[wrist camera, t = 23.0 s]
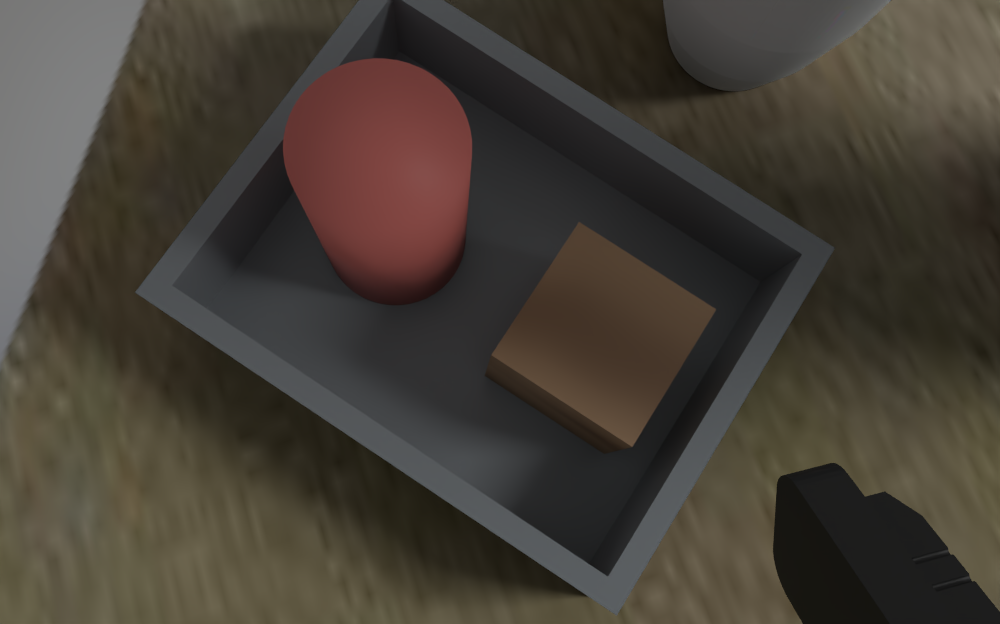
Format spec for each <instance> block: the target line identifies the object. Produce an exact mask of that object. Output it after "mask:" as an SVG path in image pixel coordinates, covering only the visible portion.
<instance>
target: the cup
mask: <svg viewBox="0 0 1000 624" xmlns="http://www.w3.org/2000/svg"><path fill="white" fill-rule="evenodd" d="M890 1H891V0H663V5H664V12H665V20H666V27H667V34H668V40H669V44H670V47H671V50H672V52H673V54H674V56H675V58H676V60H677V61H678V63H679V64H680V65H681V66H682V68H683V69H684V70H685V71H686V72H687V73H688V74H689V75H691V76H692V77H693V78H694V79H696V80H697V81H699V82H701V83H703V84H705V85H707V86H709V87H712V88H715V89H719V90H724V91H744V90H749V89H753V88H756V87H759V86H762V85H764V84H767V83H770V82H773V81H776V80H778V79H781V78H784V77H787V76H789V75H792V74H794V73H796V72H798V71H799V70H801V69H803V68H804V67H806V66H807V65H809V64H810V63H812V62H813V61H815V60H816V59H817V58H819V57H820V56H822V55H823V54H825V53H826V52H828V51H829V50H831V49H832V48H834V47H835V46H837V45H838V44H840V43H841V42H843V41H844V40H846V39H847V38H849V37H850V36H851V35H853V34H854V33H856V32H857V31H858V30H860V29H861V28H862V27H863V26H864V25H865V24H866V23H867V22H868V21H869V20H871V19H872V18H873V17H874V16H875V15H876V14H877V13H878V12H879V11H880V10H881V9H882V8H883V7H884V6H886V5H887V4H888V3H889V2H890Z"/></svg>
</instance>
